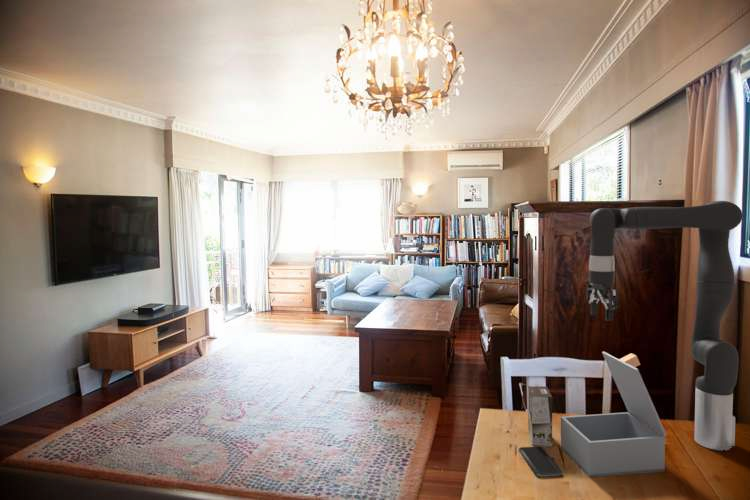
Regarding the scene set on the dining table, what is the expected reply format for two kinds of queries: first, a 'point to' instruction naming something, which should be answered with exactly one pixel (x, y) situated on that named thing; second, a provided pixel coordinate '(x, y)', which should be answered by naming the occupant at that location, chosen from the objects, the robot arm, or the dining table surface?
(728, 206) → the robot arm
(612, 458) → the carton box
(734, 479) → the dining table surface
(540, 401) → the coffee box
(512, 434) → the dining table surface
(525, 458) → the phone
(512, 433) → the dining table surface
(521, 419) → the dining table surface
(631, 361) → the grey box lid
